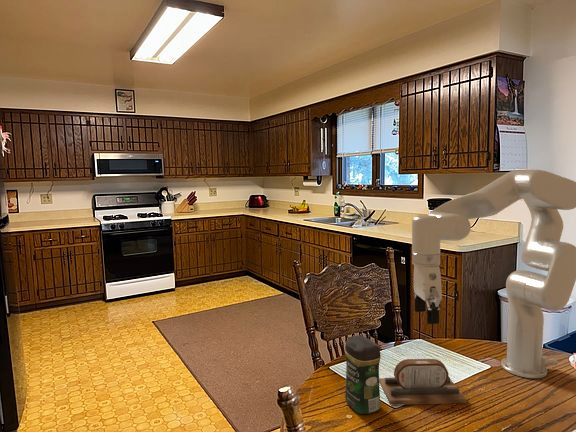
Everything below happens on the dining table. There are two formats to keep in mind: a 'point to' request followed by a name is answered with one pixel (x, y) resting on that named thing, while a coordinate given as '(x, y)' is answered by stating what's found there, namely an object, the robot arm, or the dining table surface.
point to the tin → (421, 373)
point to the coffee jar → (362, 374)
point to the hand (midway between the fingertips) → (426, 317)
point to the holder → (421, 393)
